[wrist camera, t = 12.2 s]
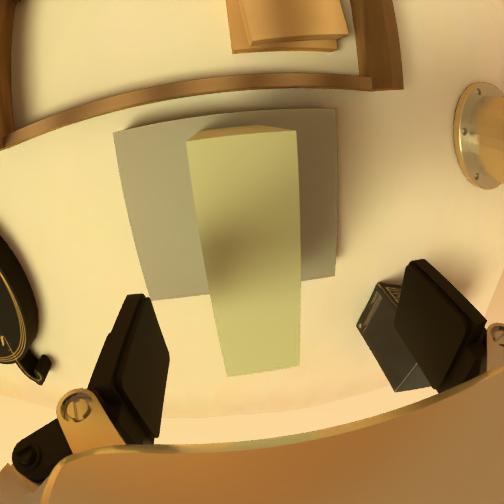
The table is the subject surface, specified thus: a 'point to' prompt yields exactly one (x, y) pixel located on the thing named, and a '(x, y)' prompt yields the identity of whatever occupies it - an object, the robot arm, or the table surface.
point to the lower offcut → (242, 46)
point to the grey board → (182, 202)
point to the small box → (389, 340)
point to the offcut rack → (369, 59)
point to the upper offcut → (292, 20)
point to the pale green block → (250, 242)
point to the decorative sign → (18, 318)
